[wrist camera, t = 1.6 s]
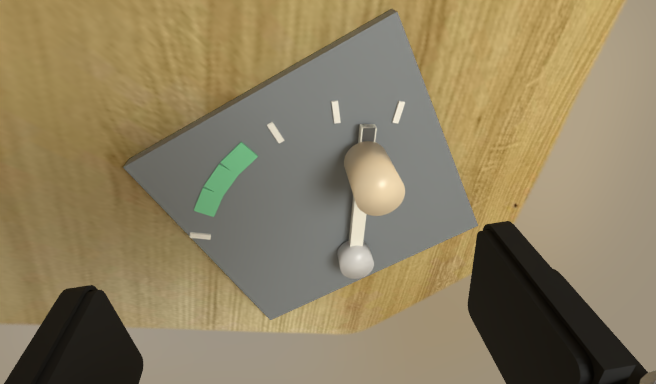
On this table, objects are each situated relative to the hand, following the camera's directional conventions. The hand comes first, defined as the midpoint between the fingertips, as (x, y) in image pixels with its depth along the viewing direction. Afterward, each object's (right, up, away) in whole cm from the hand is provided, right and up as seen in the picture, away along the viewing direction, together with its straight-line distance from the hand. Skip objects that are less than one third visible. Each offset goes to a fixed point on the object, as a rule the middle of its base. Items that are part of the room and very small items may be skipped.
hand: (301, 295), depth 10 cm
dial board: (0, +3, +26) cm, 26 cm away
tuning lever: (+3, +2, +25) cm, 25 cm away
